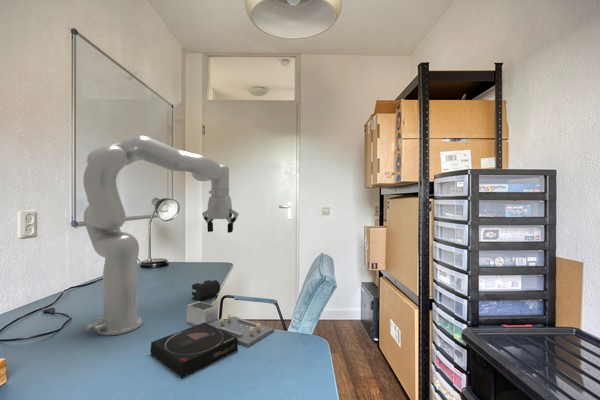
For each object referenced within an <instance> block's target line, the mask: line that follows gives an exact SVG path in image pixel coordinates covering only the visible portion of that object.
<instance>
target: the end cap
mask: <svg viewBox="0 0 600 400" xmlns="http://www.w3.org/2000/svg"><path fill="white" fill-rule="evenodd" d="M191 289H192V290H195V291H191V296H192V300H194V301H196V302H197V301H202V300H205V299H208V298H212V297H214V296H216V295H218V294H219V293H220V291H221V283H220V282H219V281H218V280H217V279H214V280H210V279H207V280H204V281H203V283H199V282H196V283H193V284H192V285H191Z"/></svg>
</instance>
